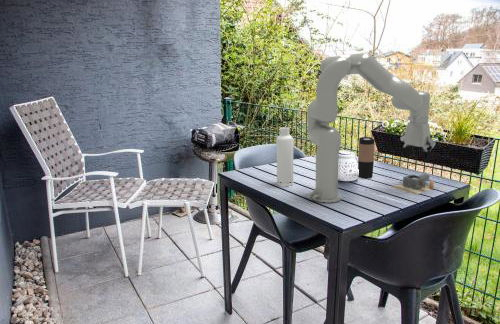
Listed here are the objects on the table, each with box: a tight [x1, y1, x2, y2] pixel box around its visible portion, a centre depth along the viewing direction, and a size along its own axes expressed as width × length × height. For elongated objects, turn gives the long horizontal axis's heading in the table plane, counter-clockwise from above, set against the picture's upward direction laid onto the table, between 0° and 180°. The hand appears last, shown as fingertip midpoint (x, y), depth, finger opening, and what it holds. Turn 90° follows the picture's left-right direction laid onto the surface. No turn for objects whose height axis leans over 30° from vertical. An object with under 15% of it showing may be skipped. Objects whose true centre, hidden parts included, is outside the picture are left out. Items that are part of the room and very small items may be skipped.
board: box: [390, 183, 436, 195], centre depth 175 cm, size 15×13×1 cm
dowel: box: [428, 179, 435, 190], centre depth 172 cm, size 2×2×4 cm
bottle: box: [275, 126, 294, 187], centre depth 186 cm, size 8×8×28 cm
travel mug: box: [357, 136, 376, 179], centre depth 195 cm, size 8×8×20 cm
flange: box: [402, 173, 430, 190], centre depth 177 cm, size 13×7×4 cm, turn 122°
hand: (416, 157), depth 174 cm, fingers open, 9 cm apart
